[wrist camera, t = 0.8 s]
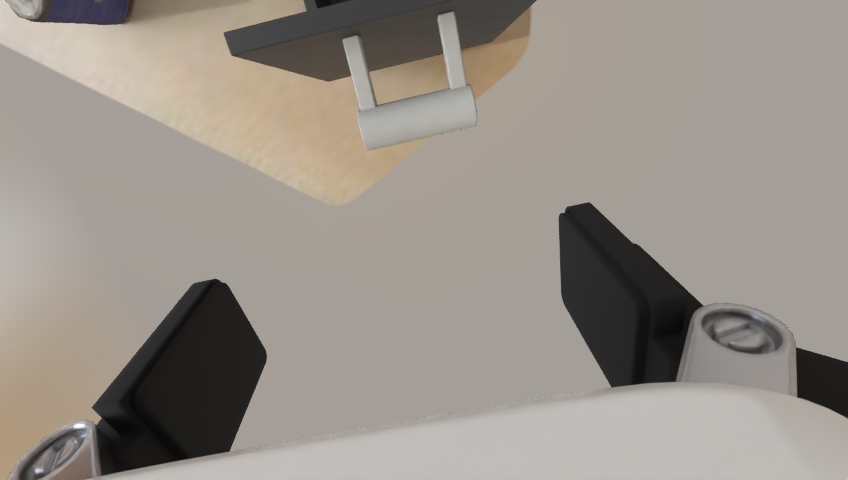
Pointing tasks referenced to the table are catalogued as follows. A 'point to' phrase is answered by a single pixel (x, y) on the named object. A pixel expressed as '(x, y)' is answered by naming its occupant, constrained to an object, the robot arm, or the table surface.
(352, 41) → the lid
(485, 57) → the table surface
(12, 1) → the flask
